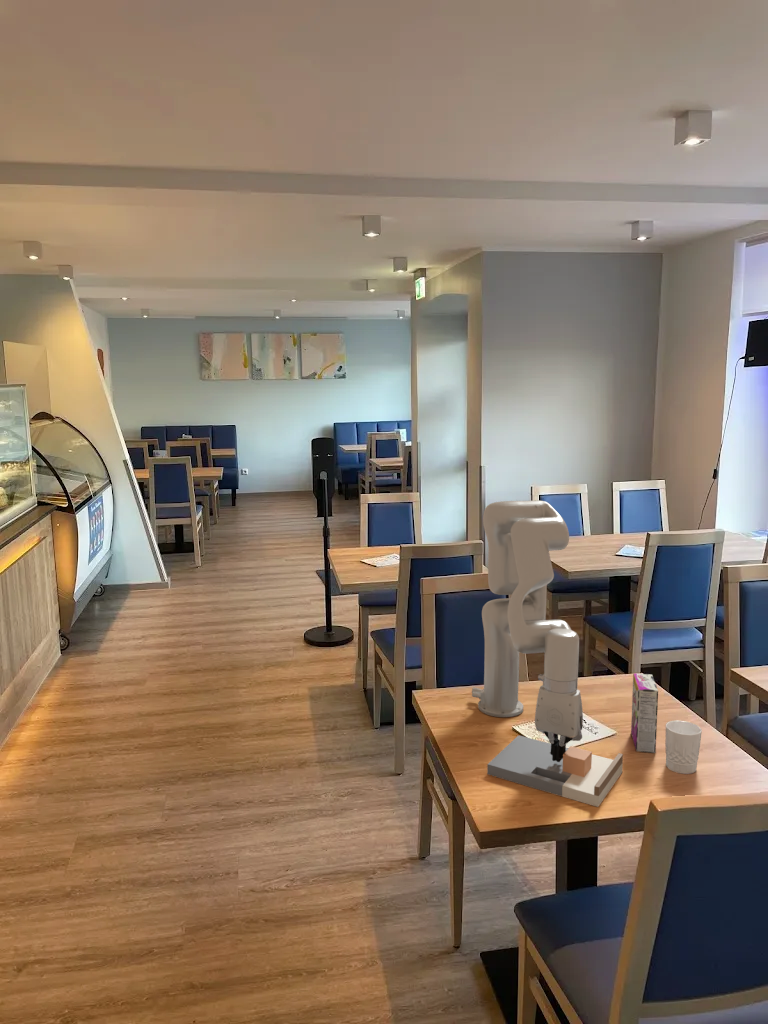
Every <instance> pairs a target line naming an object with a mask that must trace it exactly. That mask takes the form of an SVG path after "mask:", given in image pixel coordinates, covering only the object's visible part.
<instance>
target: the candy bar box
mask: <svg viewBox="0 0 768 1024" xmlns="http://www.w3.org/2000/svg"><path fill="white" fill-rule="evenodd" d="M632 674H633V675H632V696H631V697H632V698H631V699H632V700H631V726H630V733H631V737H632V740H633V744H634V747H635V752H639V753H648V754H655V753H657V752H656V749H657V727H658V707H659V706H658V705H659V701H658V700H659V689H658V687H657V684H656V681H655V679H654V676H653V674H649V673H637V672H635V673H632Z"/></svg>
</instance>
